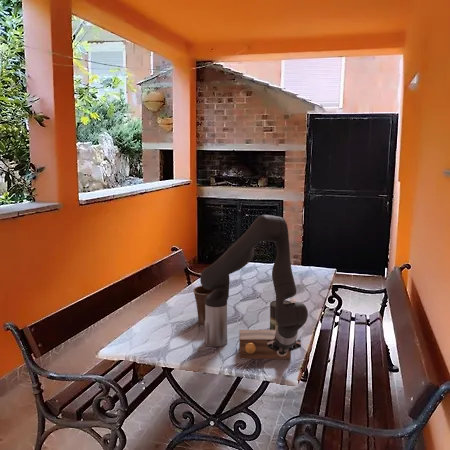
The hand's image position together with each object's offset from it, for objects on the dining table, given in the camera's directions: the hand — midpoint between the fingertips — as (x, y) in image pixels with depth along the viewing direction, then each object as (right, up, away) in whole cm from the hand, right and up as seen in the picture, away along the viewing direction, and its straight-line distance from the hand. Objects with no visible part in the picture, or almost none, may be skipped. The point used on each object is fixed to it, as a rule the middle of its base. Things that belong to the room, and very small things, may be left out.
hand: (281, 352), depth 184 cm
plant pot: (-29, +2, +46) cm, 54 cm away
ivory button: (0, -1, +4) cm, 5 cm away
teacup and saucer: (+12, +5, +67) cm, 68 cm away
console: (-6, -3, +11) cm, 13 cm away
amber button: (-12, -1, +7) cm, 14 cm away
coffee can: (+3, 0, +32) cm, 32 cm away
